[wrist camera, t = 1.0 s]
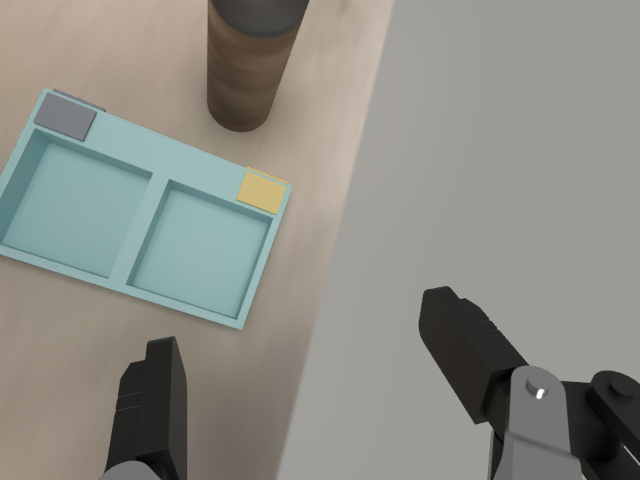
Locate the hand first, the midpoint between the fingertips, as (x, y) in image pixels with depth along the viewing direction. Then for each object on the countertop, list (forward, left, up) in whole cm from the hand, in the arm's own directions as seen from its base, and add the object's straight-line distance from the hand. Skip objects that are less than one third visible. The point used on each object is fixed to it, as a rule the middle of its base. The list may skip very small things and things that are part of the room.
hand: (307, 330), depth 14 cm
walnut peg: (-12, +9, -17) cm, 23 cm away
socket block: (-9, -1, -17) cm, 19 cm away
